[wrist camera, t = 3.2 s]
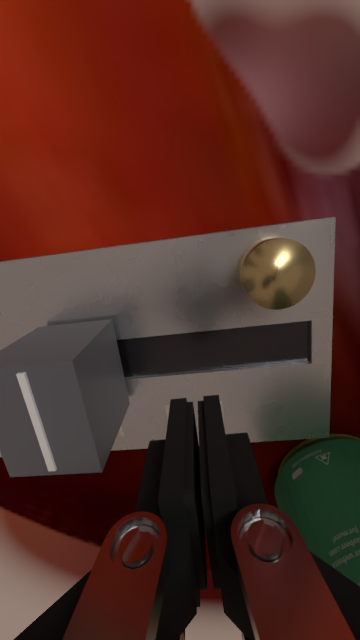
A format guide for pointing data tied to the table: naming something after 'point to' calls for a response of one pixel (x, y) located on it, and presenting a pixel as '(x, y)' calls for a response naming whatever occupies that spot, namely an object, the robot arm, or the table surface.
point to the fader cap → (61, 399)
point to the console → (199, 323)
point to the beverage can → (325, 498)
